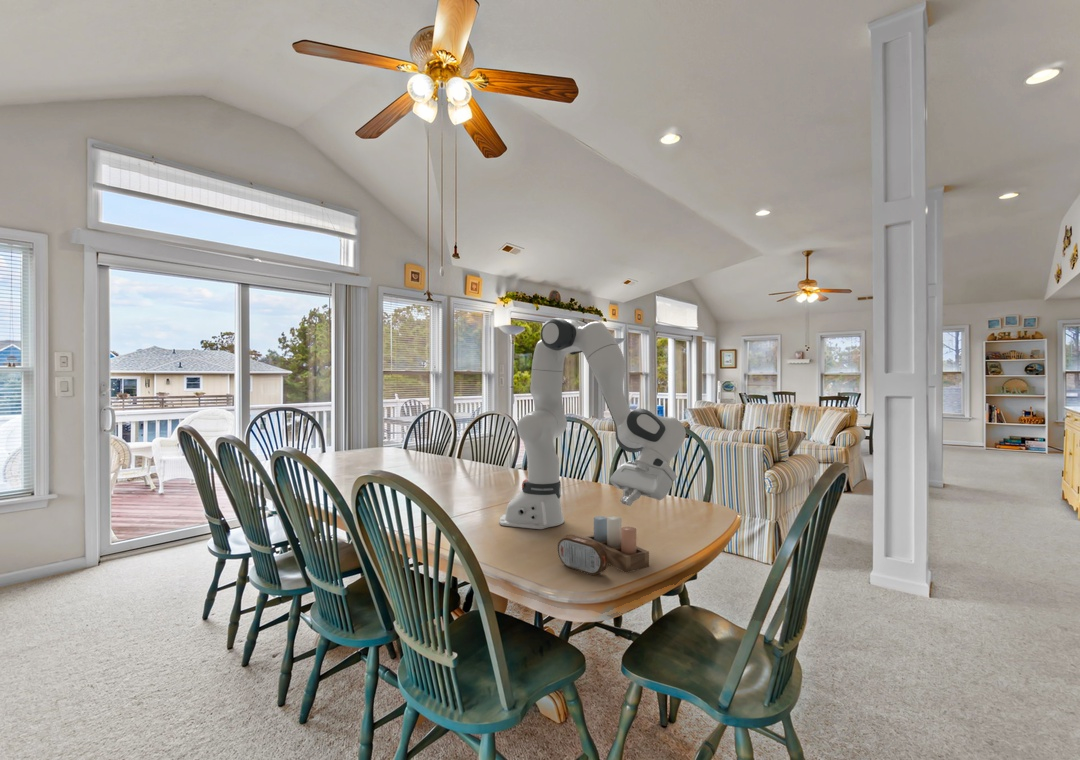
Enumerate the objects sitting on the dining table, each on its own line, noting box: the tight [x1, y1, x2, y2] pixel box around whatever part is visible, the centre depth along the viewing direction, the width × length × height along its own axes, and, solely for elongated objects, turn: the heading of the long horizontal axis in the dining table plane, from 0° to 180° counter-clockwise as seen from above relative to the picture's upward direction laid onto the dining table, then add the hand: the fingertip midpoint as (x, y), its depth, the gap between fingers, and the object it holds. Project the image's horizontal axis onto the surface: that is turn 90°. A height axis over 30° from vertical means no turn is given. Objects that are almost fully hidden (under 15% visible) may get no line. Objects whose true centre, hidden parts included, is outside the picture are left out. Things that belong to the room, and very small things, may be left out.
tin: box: [557, 534, 609, 576], centre depth 133 cm, size 15×3×8 cm, turn 48°
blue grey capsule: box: [593, 515, 607, 542], centre depth 146 cm, size 4×4×8 cm
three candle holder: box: [581, 534, 650, 574], centre depth 141 cm, size 19×8×4 cm, turn 31°
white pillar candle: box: [607, 515, 623, 548], centre depth 141 cm, size 4×4×8 cm
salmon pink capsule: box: [621, 526, 637, 555], centre depth 136 cm, size 4×4×8 cm
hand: (624, 503), depth 143 cm, fingers closed
